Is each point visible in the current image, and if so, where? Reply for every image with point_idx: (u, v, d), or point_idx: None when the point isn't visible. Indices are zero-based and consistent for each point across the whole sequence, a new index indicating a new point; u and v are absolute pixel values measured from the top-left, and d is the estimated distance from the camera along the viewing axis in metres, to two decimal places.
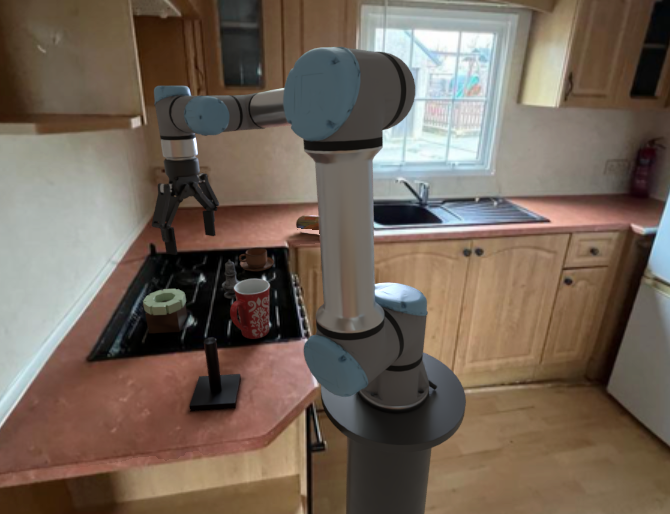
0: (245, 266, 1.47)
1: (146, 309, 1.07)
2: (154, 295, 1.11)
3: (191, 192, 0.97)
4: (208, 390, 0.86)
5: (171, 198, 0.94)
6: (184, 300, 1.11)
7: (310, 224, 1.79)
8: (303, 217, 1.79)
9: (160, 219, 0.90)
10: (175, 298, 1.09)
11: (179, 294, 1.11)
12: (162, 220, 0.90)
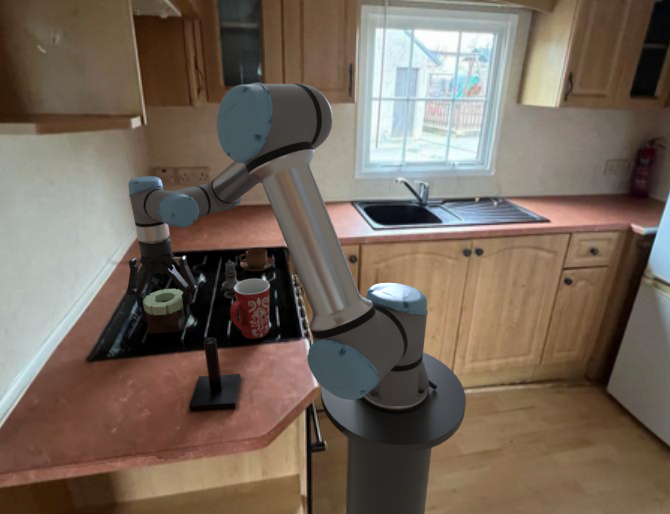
0: (245, 266, 1.47)
1: (146, 309, 1.07)
2: (154, 295, 1.11)
3: (161, 270, 1.05)
4: (208, 390, 0.86)
5: None
6: None
7: None
8: None
9: None
10: (175, 298, 1.09)
11: (179, 294, 1.11)
12: (128, 289, 1.06)
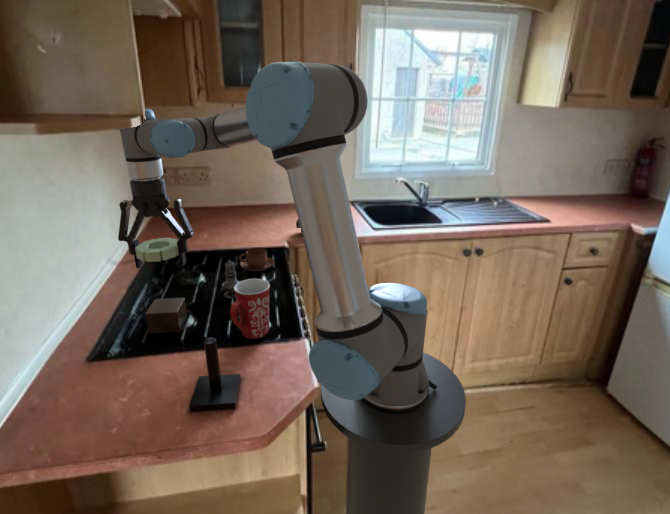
0: (245, 266, 1.47)
1: (138, 256, 0.99)
2: (147, 243, 1.03)
3: (154, 213, 0.98)
4: (208, 390, 0.86)
5: None
6: None
7: None
8: None
9: None
10: (170, 245, 1.01)
11: (174, 242, 1.04)
12: (120, 234, 0.99)
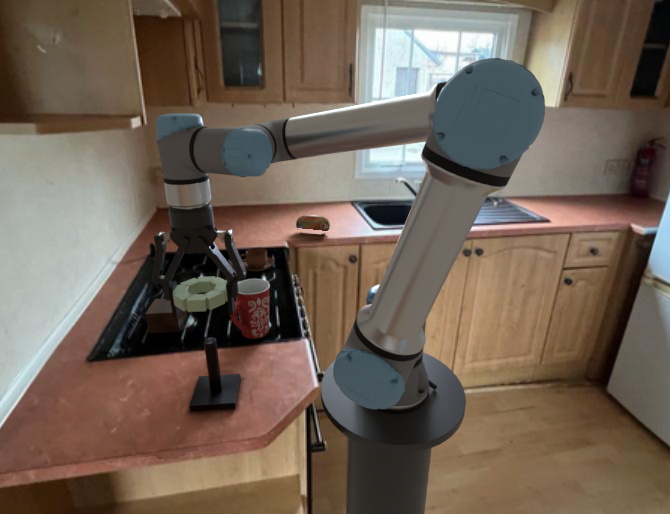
0: (245, 266, 1.47)
1: (177, 304, 0.76)
2: (187, 285, 0.80)
3: (198, 248, 0.75)
4: (208, 390, 0.86)
5: None
6: None
7: (310, 224, 1.79)
8: (303, 217, 1.79)
9: (152, 274, 0.76)
10: (217, 289, 0.79)
11: (221, 283, 0.81)
12: (153, 275, 0.76)
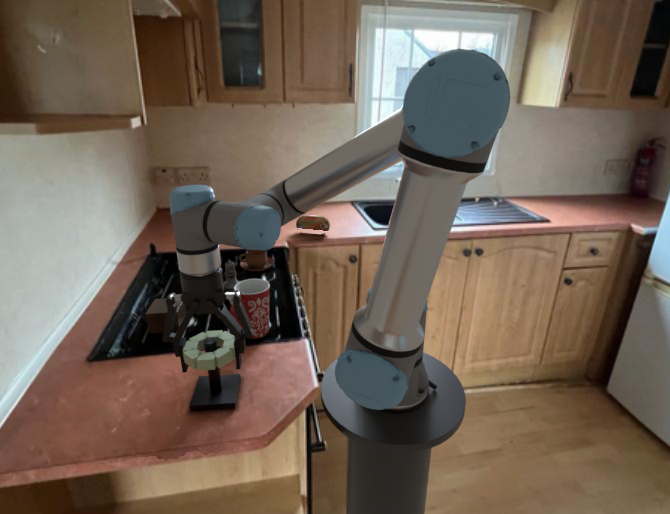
0: (245, 266, 1.47)
1: (187, 362, 0.80)
2: (196, 341, 0.84)
3: (208, 310, 0.79)
4: (208, 390, 0.86)
5: None
6: None
7: (310, 224, 1.79)
8: (303, 217, 1.79)
9: None
10: (225, 346, 0.82)
11: (229, 339, 0.84)
12: (164, 334, 0.79)
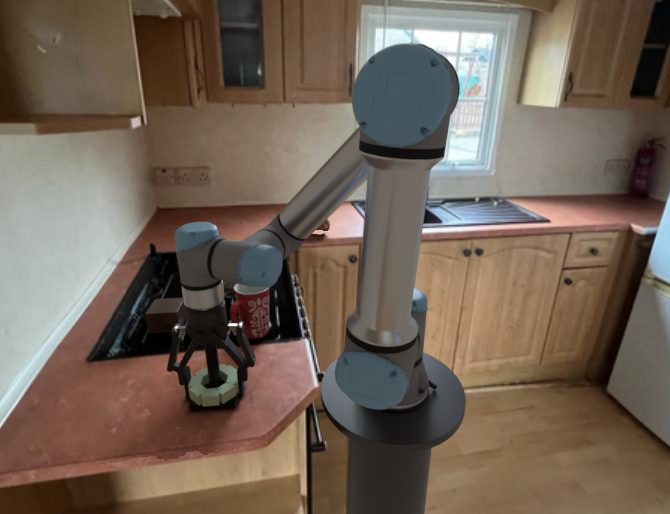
0: None
1: (193, 397, 0.83)
2: (201, 376, 0.87)
3: (212, 341, 0.81)
4: None
5: None
6: None
7: None
8: None
9: (168, 363, 0.82)
10: (229, 381, 0.85)
11: (232, 373, 0.87)
12: (169, 364, 0.82)
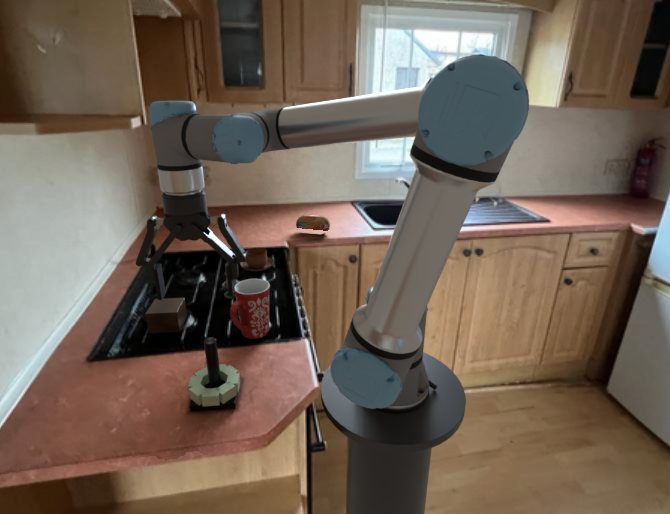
0: (245, 266, 1.47)
1: (193, 397, 0.83)
2: (201, 376, 0.87)
3: (192, 235, 0.76)
4: None
5: None
6: (239, 382, 0.87)
7: (310, 224, 1.79)
8: (303, 217, 1.79)
9: (138, 255, 0.77)
10: (229, 381, 0.85)
11: (232, 373, 0.87)
12: (139, 257, 0.76)
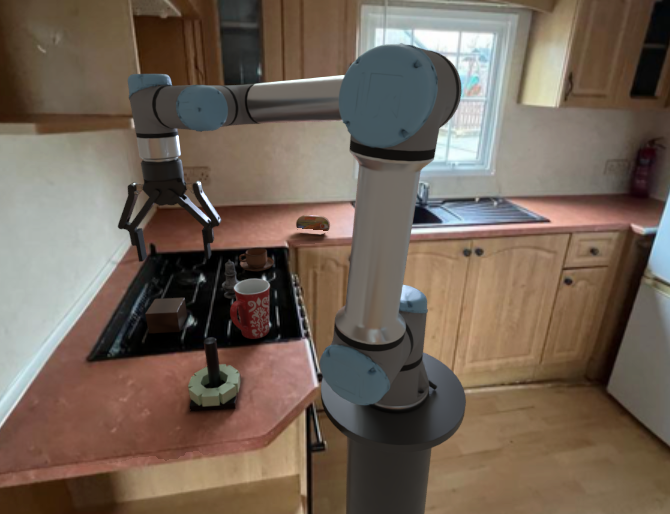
0: (245, 266, 1.47)
1: (193, 397, 0.83)
2: (201, 376, 0.87)
3: (169, 200, 0.82)
4: None
5: None
6: (239, 382, 0.87)
7: (310, 224, 1.79)
8: (303, 217, 1.79)
9: (120, 219, 0.83)
10: (229, 381, 0.85)
11: (232, 373, 0.87)
12: (121, 221, 0.83)
